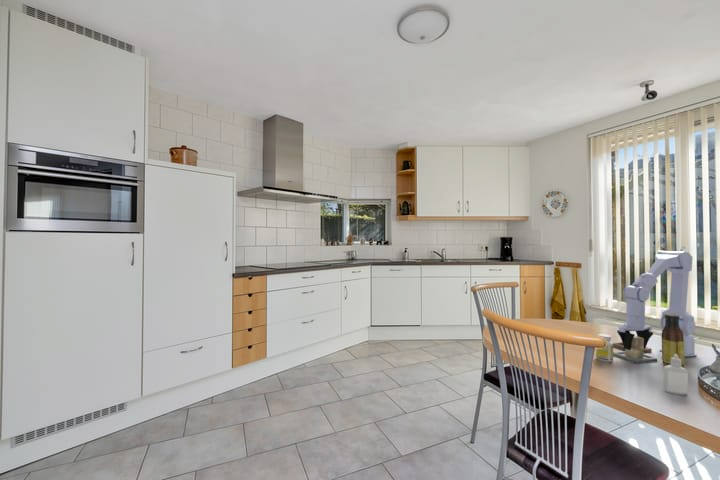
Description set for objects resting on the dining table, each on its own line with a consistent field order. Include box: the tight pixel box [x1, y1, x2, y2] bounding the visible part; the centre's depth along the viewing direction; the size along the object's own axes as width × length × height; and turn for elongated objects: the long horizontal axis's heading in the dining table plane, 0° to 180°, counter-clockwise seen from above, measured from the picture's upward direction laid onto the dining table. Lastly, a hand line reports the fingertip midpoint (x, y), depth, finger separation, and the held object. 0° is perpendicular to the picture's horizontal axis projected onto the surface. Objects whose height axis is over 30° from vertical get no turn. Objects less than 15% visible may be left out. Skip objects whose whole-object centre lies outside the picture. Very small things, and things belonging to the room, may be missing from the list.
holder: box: [612, 341, 653, 354], centre depth 143 cm, size 10×10×2 cm
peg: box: [625, 335, 645, 359], centre depth 132 cm, size 4×4×8 cm
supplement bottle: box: [595, 333, 614, 363], centre depth 130 cm, size 5×5×10 cm
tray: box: [613, 350, 658, 364], centre depth 132 cm, size 11×9×1 cm
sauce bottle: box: [661, 314, 685, 368], centre depth 124 cm, size 7×6×20 cm
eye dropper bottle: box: [662, 354, 689, 396], centre depth 102 cm, size 4×6×12 cm
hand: (634, 348), depth 132 cm, fingers open, 7 cm apart
